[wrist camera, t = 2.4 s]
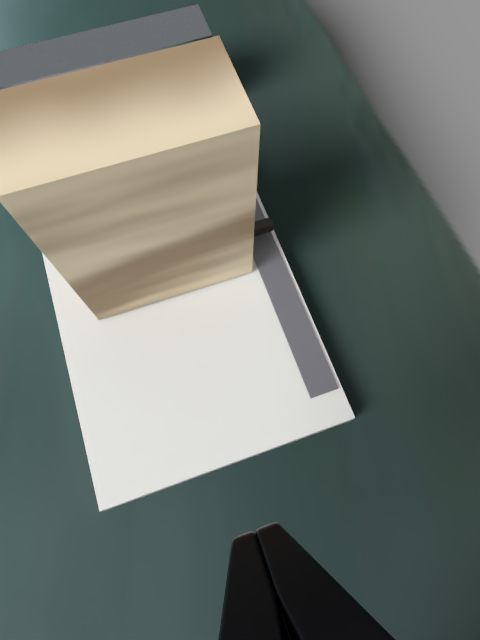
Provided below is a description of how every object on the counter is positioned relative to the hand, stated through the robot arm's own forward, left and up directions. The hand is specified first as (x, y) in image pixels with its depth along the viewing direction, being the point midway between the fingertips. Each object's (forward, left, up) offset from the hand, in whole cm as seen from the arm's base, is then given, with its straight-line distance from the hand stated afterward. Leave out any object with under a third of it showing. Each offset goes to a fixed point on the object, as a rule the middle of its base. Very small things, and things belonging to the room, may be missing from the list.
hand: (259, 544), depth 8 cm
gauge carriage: (+11, -6, -12) cm, 17 cm away
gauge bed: (+12, -7, -13) cm, 19 cm away
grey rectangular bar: (+21, -12, -12) cm, 27 cm away
